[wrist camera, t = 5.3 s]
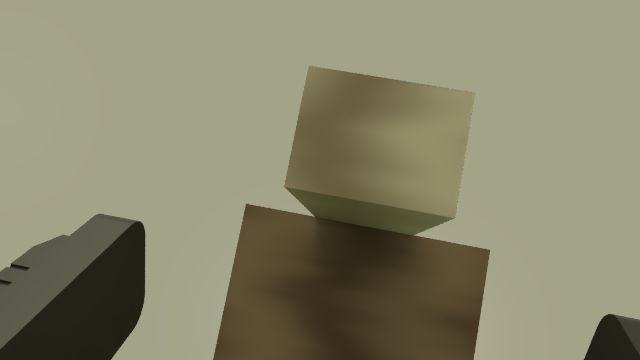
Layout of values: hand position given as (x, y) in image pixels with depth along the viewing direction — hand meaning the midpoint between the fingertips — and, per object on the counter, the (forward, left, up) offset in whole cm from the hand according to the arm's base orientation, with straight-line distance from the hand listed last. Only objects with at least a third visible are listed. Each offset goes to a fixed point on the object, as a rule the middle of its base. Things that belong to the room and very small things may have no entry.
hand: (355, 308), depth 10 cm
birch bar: (0, +13, +2) cm, 13 cm away
